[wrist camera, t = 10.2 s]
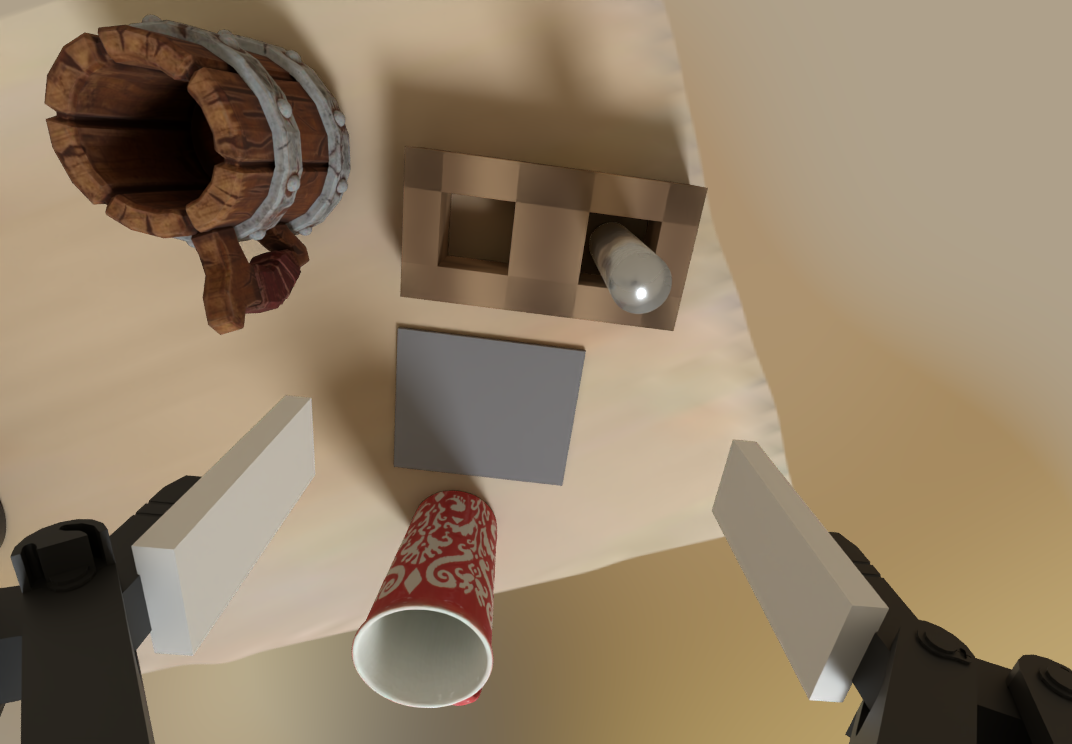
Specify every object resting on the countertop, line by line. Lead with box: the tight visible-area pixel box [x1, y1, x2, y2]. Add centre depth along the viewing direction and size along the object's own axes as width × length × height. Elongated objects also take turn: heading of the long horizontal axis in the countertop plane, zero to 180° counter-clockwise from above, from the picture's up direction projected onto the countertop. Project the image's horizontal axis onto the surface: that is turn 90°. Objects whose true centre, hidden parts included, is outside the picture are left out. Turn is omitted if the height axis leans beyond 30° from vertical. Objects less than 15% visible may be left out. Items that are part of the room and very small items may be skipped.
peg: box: [589, 222, 672, 314], centre depth 31 cm, size 3×3×12 cm
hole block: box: [400, 146, 708, 331], centre depth 34 cm, size 18×9×4 cm, turn 83°
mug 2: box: [352, 491, 497, 708], centre depth 40 cm, size 13×9×14 cm
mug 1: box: [45, 15, 350, 335], centre depth 29 cm, size 12×14×15 cm
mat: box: [394, 327, 586, 486], centre depth 41 cm, size 14×12×1 cm
